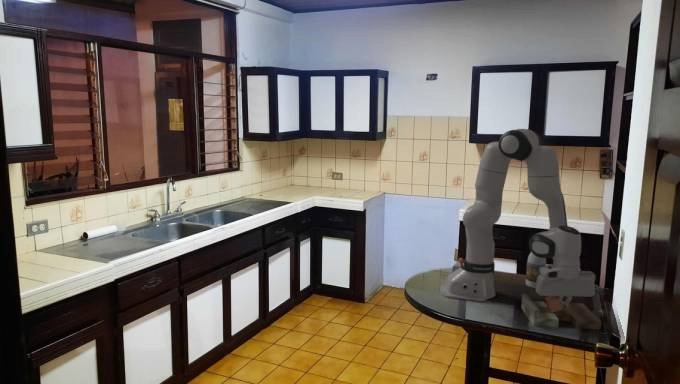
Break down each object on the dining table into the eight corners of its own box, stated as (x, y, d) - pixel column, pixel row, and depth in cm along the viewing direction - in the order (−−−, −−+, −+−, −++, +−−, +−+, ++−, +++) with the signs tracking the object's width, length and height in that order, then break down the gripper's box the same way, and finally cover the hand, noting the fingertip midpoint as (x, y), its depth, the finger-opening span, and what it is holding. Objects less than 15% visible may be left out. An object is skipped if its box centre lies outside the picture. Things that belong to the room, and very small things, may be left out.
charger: (478, 269, 235) (471, 278, 222) (459, 266, 239) (451, 275, 226) (479, 259, 234) (472, 268, 221) (460, 256, 238) (452, 265, 225)
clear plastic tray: (533, 326, 173) (534, 310, 172) (521, 308, 189) (522, 293, 188) (600, 329, 171) (602, 313, 170) (582, 310, 187) (583, 296, 186)
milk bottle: (528, 281, 218) (531, 238, 215) (546, 285, 214) (550, 241, 211) (523, 286, 212) (526, 242, 209) (541, 290, 208) (545, 245, 204)
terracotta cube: (551, 312, 177) (548, 301, 177) (548, 308, 181) (545, 297, 181) (562, 309, 177) (559, 298, 176) (558, 305, 181) (555, 294, 180)
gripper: (591, 268, 179) (589, 304, 181) (535, 267, 180) (533, 303, 182) (599, 273, 173) (597, 310, 175) (540, 273, 174) (538, 309, 176)
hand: (563, 307), depth 179 cm, fingers closed
